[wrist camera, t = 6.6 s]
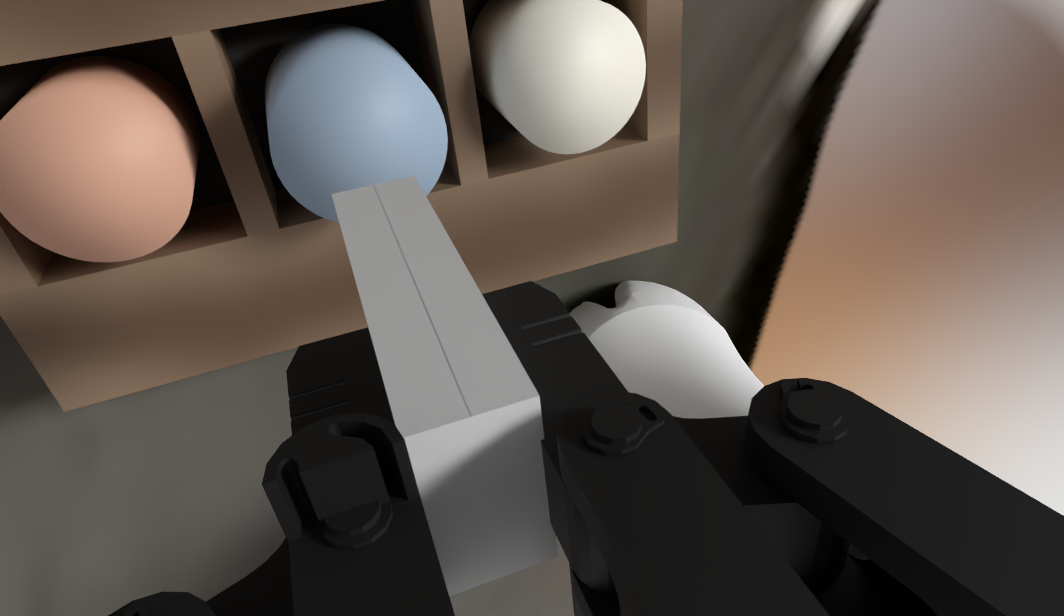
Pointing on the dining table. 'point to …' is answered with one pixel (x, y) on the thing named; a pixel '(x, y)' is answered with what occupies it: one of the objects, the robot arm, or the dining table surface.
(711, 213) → the dining table surface
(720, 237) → the dining table surface
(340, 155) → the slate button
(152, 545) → the dining table surface
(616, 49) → the cream rounded lump
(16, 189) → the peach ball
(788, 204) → the dining table surface
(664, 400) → the water bottle
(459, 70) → the brown wooden tray
